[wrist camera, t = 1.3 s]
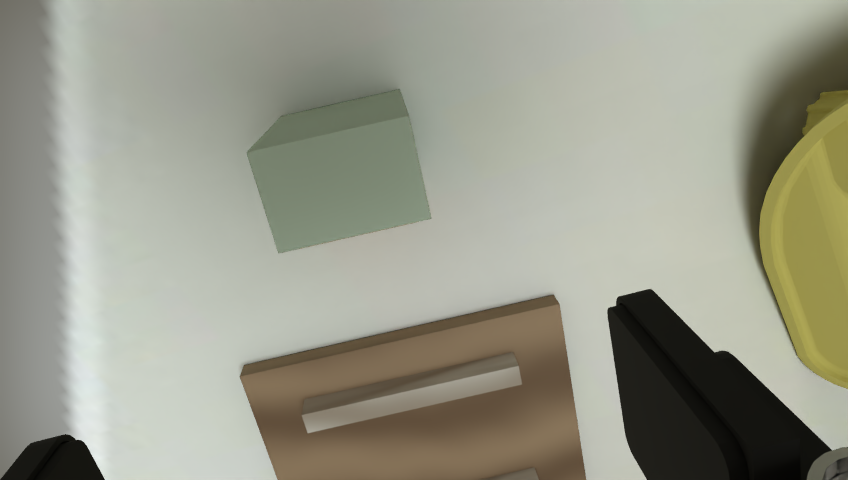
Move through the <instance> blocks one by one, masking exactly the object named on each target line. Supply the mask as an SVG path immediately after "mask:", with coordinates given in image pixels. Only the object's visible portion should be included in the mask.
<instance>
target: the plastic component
mask: <svg viewBox="0 0 848 480" xmlns="http://www.w3.org/2000/svg"><path fill="white" fill-rule="evenodd" d="M806 110H807V112H808V117H807V121H806V126H805V127H804V128H803V129H802V132H803V135H805V136H804V137H803V138H802V139H801V140H800V141H799V142H798V143H797V144H796V146H795V147H794V148H793V149H792V151H791V152H790V153H789V154H788V156H787V157H786V158H785V159H784V161H783V163H782V164H781V166H780V167H779V169H778V171H777V172H776V174H775V175H774V177H773V179H772V182H771V184H770V186H769V188H768V190H767V192H766V196H765V199H764V203H763V206H762V210H761V213H760V228H759V238H760V249H761V254H762V260H763V265H764V267H765V270H766V273H767V275H768V278H769V281H770V283H771V286H772V289H773V291H774V294H775V297H776V299H777V302H778V305H779V307H780V310H781V312H782V315H783V318H784V320H785V323H786V326H787V328H788V331H789V334H790V336H791V339H792V342H793V344H794V347H795V350H796V352H797V355H798V357H799V358H800V359H801V361H802V362H803V363H804V364H805V365H806V366H807V367H808V368H809V369H811V370H812V371H813V372H814V373H816V374H817V375H819V376H820V377H822V378H824V379H825V380H827V381H829V382H831V383H834V384H836V385H838V386H841V387H844V388H847V389H848V90H843V91H830V92H821V93H820V98H819V100H817V101H816V102H815V103H814V104H810V105H808V107H807V109H806Z"/></svg>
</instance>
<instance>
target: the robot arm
mask: <svg viewBox="0 0 848 480" xmlns="http://www.w3.org/2000/svg"><path fill="white" fill-rule="evenodd" d="M607 313H608V322H609V328H610V335H611V342H612V348H613V355H614V362H615V368H616V375H617V382H618V388H619V395H620V402H621V408H622V415H623V422H624V429H625V434H626V438H627V442H628V445H629V448H630V450H631V452H632V454H633V456H634V458H635V460H636V461H637V463H638V465H639V467H640V468H641V470H642V472H643V473H644V475H645V477H646V479H647V480H848V447H842V448H839V449H836V450H833V451H832V450H831V449H830V448H829V447H828V446H827V445H826V444H825V443H824V442H823V441H822V440H821V439H820V438H819V437H818V436H817V435H816V434H815V433H813V432H812V431H811V430H810V429H809V428H808V427H807V426H806V425H805V424H804V423H803V422H802V421H801V420H800V419H799V418H798V417H797V416H796V415H795V414H794V413H793V412H792V411H791V410H790V409H789V408H788V407H786V406H785V405H784V404H783V403H782V402H781V401H780V400H779V399H778V398H777V397H776V396H775V395H774V394H773V393H772V392H771V391H770V390H769V389H768V388H767V387H766V386H765V385H764V384H763V383H762V382H761V381H759V380H758V379H757V378H756V377H755V376H754V375H753V374H752V373H751V372H750V371H749V370H748V369H747V368H746V367H745V366H744V365H743V364H742V363H741V362H740V361H739V360H738V359H737V358H736V357H735V356H733V355H732V354H731V353H729V352H727V351H719V352H715V353H714V352H713V351H712V350H711V349H710V348H709V347H708V346H707V345H706V344H705V342H704V341H703V340H702V339H701V338H700V337H699V336H698V335H697V334H696V333H695V332H694V331H693V330H692V329H691V328H690V327H689V326H688V325H687V324H686V323H685V322H684V321H683V320H682V319H681V318H680V317H679V316H678V315H677V314H676V313H675V312H674V311H673V310H672V309H671V308H670V307H669V306H668V305H667V304H666V303H665V302H664V301H663V300H662V299H661V298H660V297H659V296H658V295H657V294H656V293H655V292H654V291H653V290H651V289H648V290H644V291H639V292H635V293H631V294H627V295H623V296H619V297H618V298H617V301H616V306H614V307H610V308H608V312H607ZM0 480H105V479H104V477H103V475H102V474H101V472H100V470H99V468H98V466H97V464H96V462H95V461H94V459H93V457H92V455H91V453H90V451H89V449H88V448H87V446H86V445H85V443H84V442H82V441H81V440H75V438H73V437H72V436H70V435H66V434H65V435H61V436H57V437H53V438H49V439H45V440H41V441H37V442H34V443H31V444H30V445H28V446H27V447H26V448H25V450H24V451H23V452H22V453H21V454H20V456H19V457H18V458H17V459H16V461H15V462H14V463H13V465H12V466H11V467H10V468H9V469H8V471H7V472H6V473H5V475H4V476H3V477H2V478H1V479H0Z"/></svg>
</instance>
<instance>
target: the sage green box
mask: <svg viewBox="0 0 848 480" xmlns="http://www.w3.org/2000/svg"><path fill="white" fill-rule="evenodd" d="M247 156H248V159H249V162H250V165H251V168H252V172H253V175H254V178H255V181H256V184H257V187H258V190H259V194H260V197H261V200H262V203H263V206H264V209H265V213H266V216H267V219H268V222H269V225H270V228H271V231H272V235H273V238H274V241H275V244H276V247H277V250H278V253H283V252H287V251H291V250H296V249H301V248H305V247H310V246H314V245H319V244H323V243H327V242H332V241H336V240H341V239H345V238H349V237H354V236H358V235H363V234H367V233H371V232H376V231H380V230H385V229H389V228H393V227H398V226H402V225H407V224H411V223H415V222H419V221H423V220H428V219H431V214H430V210H429V205H428V201H427V196H426V191H425V187H424V182H423V178H422V173H421V169H420V164H419V160H418V155H417V151H416V146H415V142H414V137H413V132H412V128H411V123H410V119H409V115H408V112H407V109H406V106H405V104H404V101H403V98H402V95H401V92H400V90H399V89H398V90H394V91H390V92H385V93H381V94H376V95H372V96H368V97H363V98H359V99H354V100H350V101H346V102H341V103H337V104H333V105H328V106H324V107H319V108H315V109H311V110H306V111H302V112H297V113H293V114H289V115H284V116H281V117H280V118H279V119H278V120H277V121H276V122H275V123H274V124H273V126H272V127H271V128H270V129H269V130H268V131H267V132H266V133H265V134H264V135H263V136H262V137H261V138H260V139H259V140H258V141H257V142H256V143H255V144H254V145H253V146H252V147H251V148H250V149H249V150H248V152H247Z"/></svg>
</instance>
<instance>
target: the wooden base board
mask: <svg viewBox="0 0 848 480" xmlns="http://www.w3.org/2000/svg"><path fill="white" fill-rule="evenodd" d="M240 379H241V381H242V384H243V387H244V389H245V392H246V395H247V398H248V400H249V403H250V406H251V408H252V411H253V414H254V417H255V419H256V422H257V425H258V427H259V430H260V433H261V436H262V438H263V441H264V444H265V446H266V449H267V452H268V455H269V457H270V460H271V463H272V465H273V468H274V471H275V474H276V476H277V479H278V480H586V476H585V469H584V463H583V456H582V449H581V443H580V436H579V430H578V423H577V417H576V410H575V403H574V397H573V390H572V384H571V377H570V370H569V364H568V357H567V351H566V344H565V338H564V331H563V324H562V318H561V311H560V305H559V303H558V301H557V300H556V298H555V296H554V295H551V296H546V297H542V298H538V299H533V300H529V301H524V302H520V303H516V304H511V305H507V306H502V307H498V308H494V309H489V310H485V311H480V312H476V313H472V314H467V315H463V316H458V317H454V318H450V319H445V320H441V321H436V322H432V323H428V324H423V325H419V326H414V327H410V328H406V329H401V330H397V331H393V332H388V333H384V334H379V335H375V336H371V337H366V338H362V339H357V340H353V341H349V342H344V343H340V344H335V345H331V346H327V347H322V348H318V349H313V350H309V351H305V352H300V353H296V354H291V355H287V356H283V357H278V358H274V359H269V360H265V361H261V362H256V363H252V364H247V365H244V367H243V369H242V372H241V375H240Z"/></svg>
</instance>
